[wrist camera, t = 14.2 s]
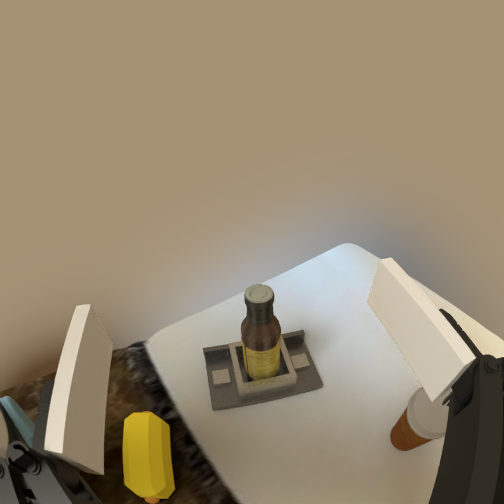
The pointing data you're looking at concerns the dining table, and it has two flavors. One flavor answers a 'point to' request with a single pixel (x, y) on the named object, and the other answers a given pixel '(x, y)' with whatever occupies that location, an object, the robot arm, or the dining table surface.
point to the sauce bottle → (260, 334)
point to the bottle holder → (253, 392)
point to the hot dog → (147, 457)
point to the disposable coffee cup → (420, 421)
